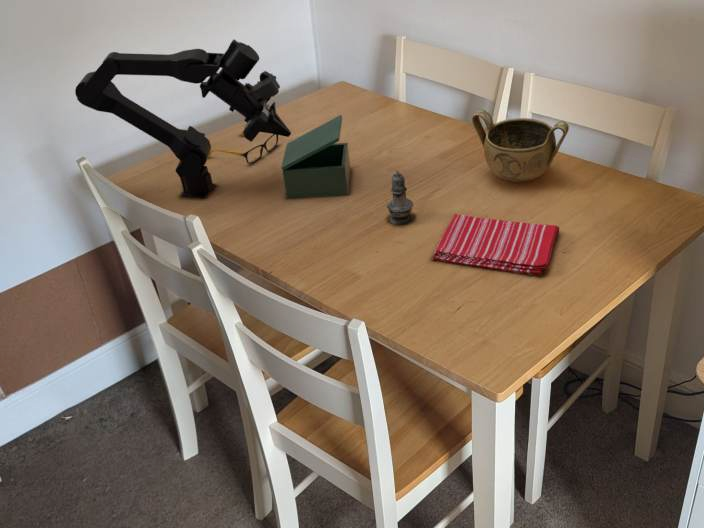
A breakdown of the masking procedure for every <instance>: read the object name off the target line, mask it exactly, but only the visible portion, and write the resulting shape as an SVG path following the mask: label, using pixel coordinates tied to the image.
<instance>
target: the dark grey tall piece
mask: <svg viewBox="0 0 704 528" xmlns="http://www.w3.org/2000/svg"><path fill="white" fill-rule="evenodd" d="M405 180H406V179H405V176H404V174H402V173H400V171H399V170H396V171H395V173H394V174H393V175H392V176H391V188H390V192H391V193H392V195H391V196H392V198H391V200H389V201H388V202H387V204H386V208H387V209H388V212H389V213H390V216H389V218H388V221H389V222H390V223H391V224H393V225H397V226H401V225H403V226H404V225H408V224H409V223H411V222H412V221H413V219H414V217H413V215H412V214H411V212H412V211H413V210H412V209H413V207H414V202H413V200H411V199H409V198H407V191H408V188H407V187H406V181H405Z"/></svg>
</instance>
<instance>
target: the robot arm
mask: <svg viewBox="0 0 704 528" xmlns="http://www.w3.org/2000/svg"><path fill="white" fill-rule="evenodd" d="M259 61H260V56H259V54H258V52H257V51H256V50H255V49H254V48H253V47H252V46H250V45H249V44H246V43H244V42H240V41H238V40H236V39H232V41H231V42H230V44H229V45H228V48H227V49H226V50H225V52H224V53H221V52H220V53H219V52H207V51H206V50H205V49H202V48H192V49H185V50H181V51H178V52H175V53H170V54H164V53H163V54H162V53H160V54H159V53H157V54H156V53H130V52H129V53H125V52H117V51H112V52H110V53H108V54H107V56H105V58H104V60H103V61H102V63H101V64H100V65H99V66H98V68H97V69H96V70H95V71H91V72H88V73H86V74H85V75H84V76H83V78H82V79H81V80H80V81H79V82H78V83H77V85H76V86H75V88H74V89H75V90H74V91H75V92H74V93H75V97H76V100H77V101H78V103H80V104H81V105H83V106H85V107H87V108H90V109H92V110H94V111H97V112H101V113H108V114H113V115H114V116H116V117H118V118H120V120H123V121H125V122H126V123H128V124H129V125H132V126H133V127H135V128H136V129H138V130H140V131H142V132H143V133H145V134H146V135H148V136H149V137H151V138H153V139H154V140H156V141H158V142H160V143H161V144H162V145H165V146H167V147H168V148H169V149H170V151H171V152H172V153H173V155H174V156H175V157H176V159H177V160H179V162H178V163H177V165H176V168H175V173H176V174H177V176H178V177H179V178H180V182H181V187H182V190H183V191H182V192H181V193H180V197H183V198H184V197H185V198H197V199H205V198H207V196H208V195H209V194H210V193H211V191H213V190H214V188H215V187H216V183H214V182H213V179H212V174H211V172H209V169H208V166H207V165H206V164H207V160H208V158H209V157H210V156H209V153H210V151H211V150H212V144H211V141H210V140H209V138H207V137H206V133H203V132H201V131H198V130H197V129H196V128H195V127H193V126H192V125H189V126H188V128H187V129H180V128H179V127H176V126H174V124H171V123H169V122H168V121H166V120H164V119H163V118H161V117H160V116H158V115H156V114H155V113H153V112H151V111H150V110H148V109H146V108H145V107H143V106H141V105H139V104H138V103H136V102H135V101H134V100H131V99H130V98H128V97H127V96H125V95H124V94H122V92H121V91H120V90H119V88H118V87H117V86H116V84H115V83H114V82H112V80H113V79H114V78H115V77H116V76H118V75H119V76H120V75H121V76H151V77H152V76H154V77H155V76H157V77H172V78H174V79H176V80H178V81H180V82H185V83H190V84H196V85H198V84H199V89H200V92H201V97H202V98H203V99H205V98H206V97H207V95H208V94H209V93H211V94H213V95H214V96H216V97H217V98H218V99H219V100H221V101H222V102H224V103H225V104H226V105H228V107H229V109H228V110H229V111H230V112H231V113H234V111H236V112H237V113H239V114H240V115H241V116H243V117H244V120H243V121H244V122H246V123H245V125H244V128H243V131H242V132H243V138H244V139H246V140H247V141H249V142H250V143H252V142H253V141H254V140H255V139H256V137H257V136H258V135H259V133H264V134H271V135H273V134H275V136H276V135H278V136H280V137H286V138H289V137H290V136H291V134H292V131H291V130H290V129H289V128H288V126H287V125H286V124H285V122H284V121H283V120H282V118H280V116H279V114H278V112H277V107H276V102H275V101H273V103H272V104H269V103H268V102H269V101H270V100H271V98H272V97H273V98H274V97H275V96H276V95H278V94H279V92H280V88H281V85H280V84H279V82H278V81H277V76H276V75H274V74H273V73H270V72H268V71H267V70H263V71H262V72H261V73H260V74H259V80H258V81H257V82H256V83H255V84H254V85H253V84H251V83H249V82H248V83H247V82H245V83H242V82H241V81H240V80H245V79H246V78H247V77H248V75H249V74H250V73H251V71H252V70H253V69H254V67H256V64H257V63H258V62H259ZM207 78H208V79H207ZM206 79H207V80H206ZM208 156H209V157H208Z"/></svg>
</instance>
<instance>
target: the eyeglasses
mask: <svg viewBox="0 0 704 528" xmlns="http://www.w3.org/2000/svg"><path fill="white" fill-rule="evenodd" d="M240 136H244V134H243V131H242V132H241V133H240ZM274 136H276V138H275V139H276V142H275V145H274V146H273V148H271V149H269V150H268V147H267V142H268V141H269V140H271V139H272V138H273V137H274ZM278 143H279V135H276V134H271V136H270V137H269V136H268V138H267V139H266V140H265V141H264V142H263V143H262V144H259V145H256V146H254V147H253V148H251V149H249V150H247V151H245V152H239V151H232V150H225V149H219V148H213V149H211V151H210V153H209V156H208V158H210V156H211V155H212V153H213V152H217V151H218V152H221V153H225V154H231V155H236V156H239V157H244V159H245V161H246V163H247V164H249V165H250V164H251V165H252V164H255V163H256V162H257V161H259V160H261V158H262V156H263V151H264V149H265V151H266V152H267V153H271V152H272V151H273V150H275V148H276V147H277V145H278ZM259 147H260V149H259V157H258V158H257V159H255V160H254V161H250V162H249V158H248V155H249V153H250V152H251V151H253V150H255V149H257V148H259Z"/></svg>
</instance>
